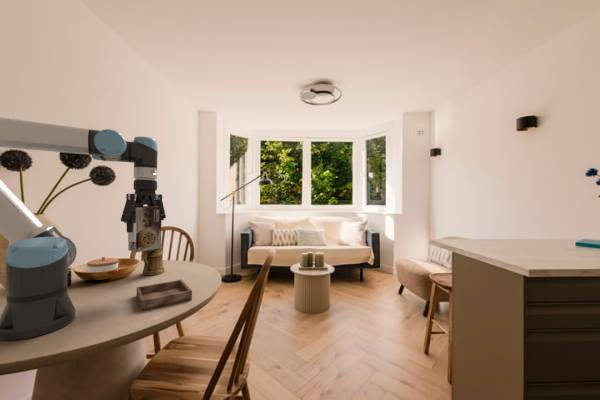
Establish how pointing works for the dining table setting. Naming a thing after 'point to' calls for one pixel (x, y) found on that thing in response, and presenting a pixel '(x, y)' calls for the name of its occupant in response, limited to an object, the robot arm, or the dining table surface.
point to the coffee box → (147, 229)
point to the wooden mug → (153, 262)
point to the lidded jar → (102, 264)
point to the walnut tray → (163, 294)
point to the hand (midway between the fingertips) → (145, 239)
